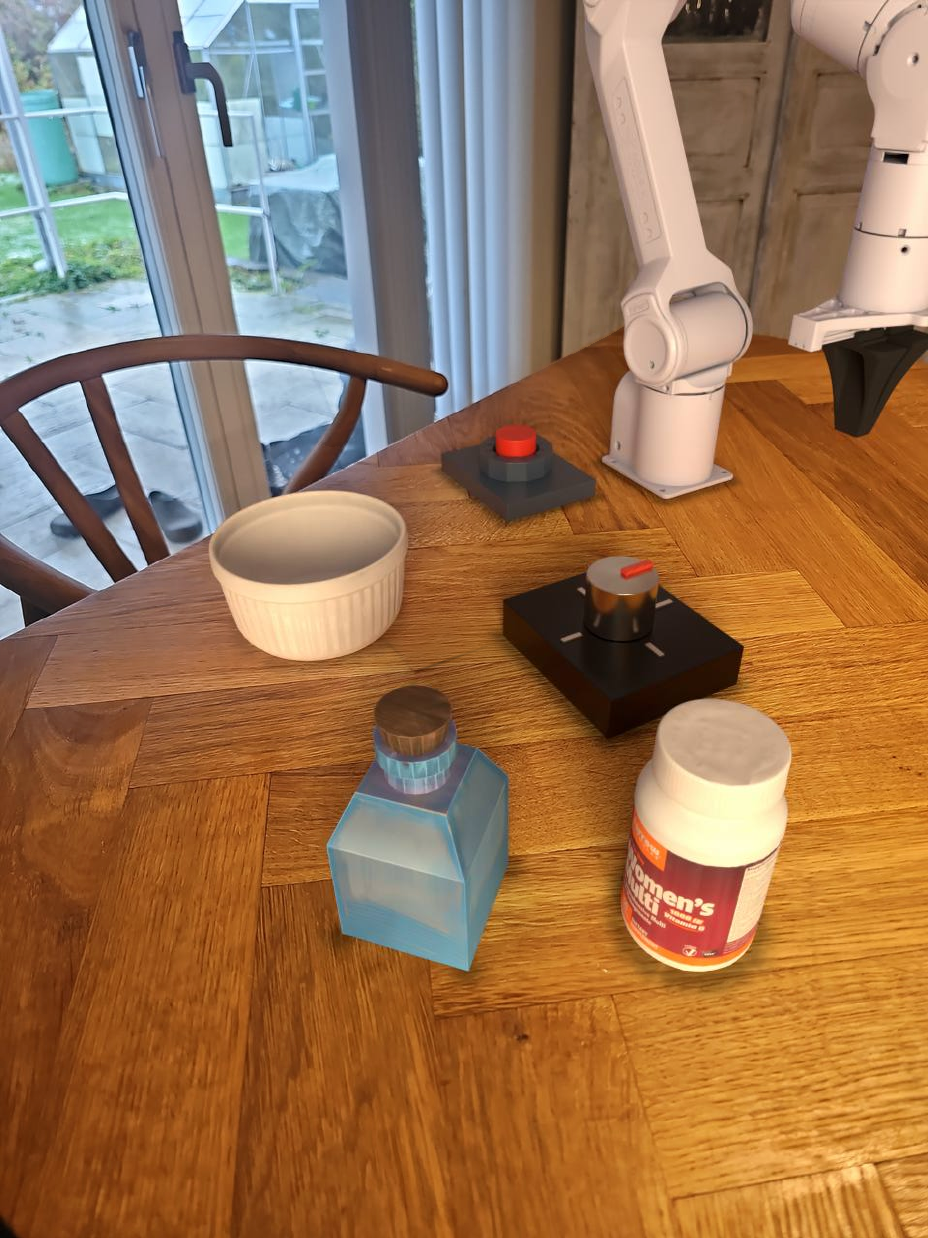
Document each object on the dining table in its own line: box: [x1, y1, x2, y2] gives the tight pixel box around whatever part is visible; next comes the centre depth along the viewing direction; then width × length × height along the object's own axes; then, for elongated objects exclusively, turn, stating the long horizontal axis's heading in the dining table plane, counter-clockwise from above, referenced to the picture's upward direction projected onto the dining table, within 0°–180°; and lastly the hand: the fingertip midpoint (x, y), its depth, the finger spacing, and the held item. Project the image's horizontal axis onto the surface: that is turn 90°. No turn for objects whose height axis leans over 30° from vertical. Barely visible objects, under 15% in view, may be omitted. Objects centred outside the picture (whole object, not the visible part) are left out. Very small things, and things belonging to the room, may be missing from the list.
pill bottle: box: [620, 698, 793, 973], centre depth 36 cm, size 6×6×11 cm
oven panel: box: [502, 571, 745, 740], centre depth 55 cm, size 12×10×3 cm
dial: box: [583, 555, 660, 641], centre depth 53 cm, size 4×4×4 cm
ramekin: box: [208, 489, 409, 662], centre depth 59 cm, size 13×13×7 cm
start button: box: [494, 424, 537, 457], centre depth 75 cm, size 4×4×2 cm
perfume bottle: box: [326, 684, 510, 972], centre depth 37 cm, size 6×6×12 cm
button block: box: [440, 434, 597, 523], centre depth 76 cm, size 12×9×4 cm
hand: (851, 431), depth 61 cm, fingers closed
